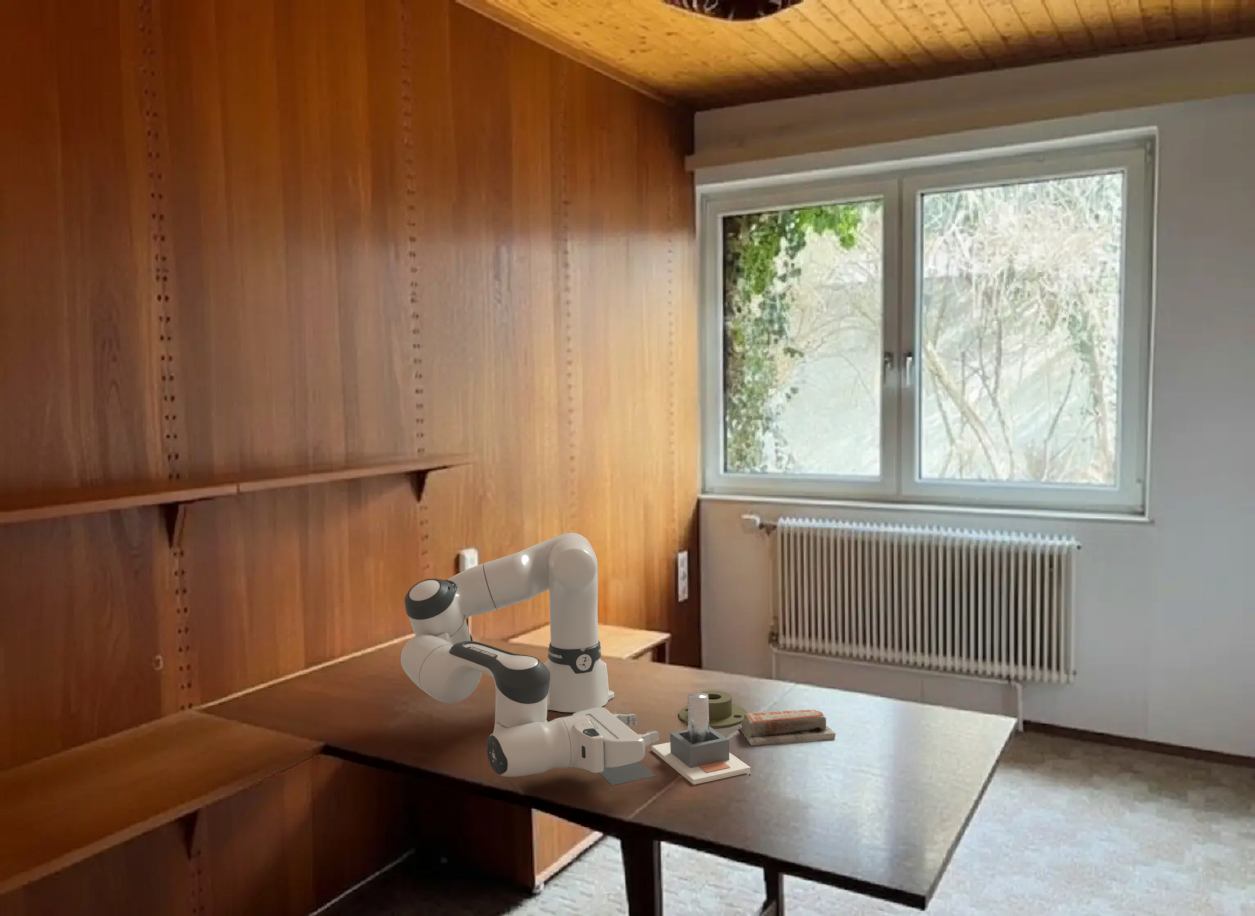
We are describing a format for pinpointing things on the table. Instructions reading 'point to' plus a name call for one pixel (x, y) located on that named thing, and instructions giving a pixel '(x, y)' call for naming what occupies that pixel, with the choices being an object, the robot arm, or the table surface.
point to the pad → (626, 773)
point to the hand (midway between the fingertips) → (646, 726)
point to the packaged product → (785, 727)
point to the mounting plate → (701, 757)
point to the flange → (719, 710)
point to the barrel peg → (698, 717)
